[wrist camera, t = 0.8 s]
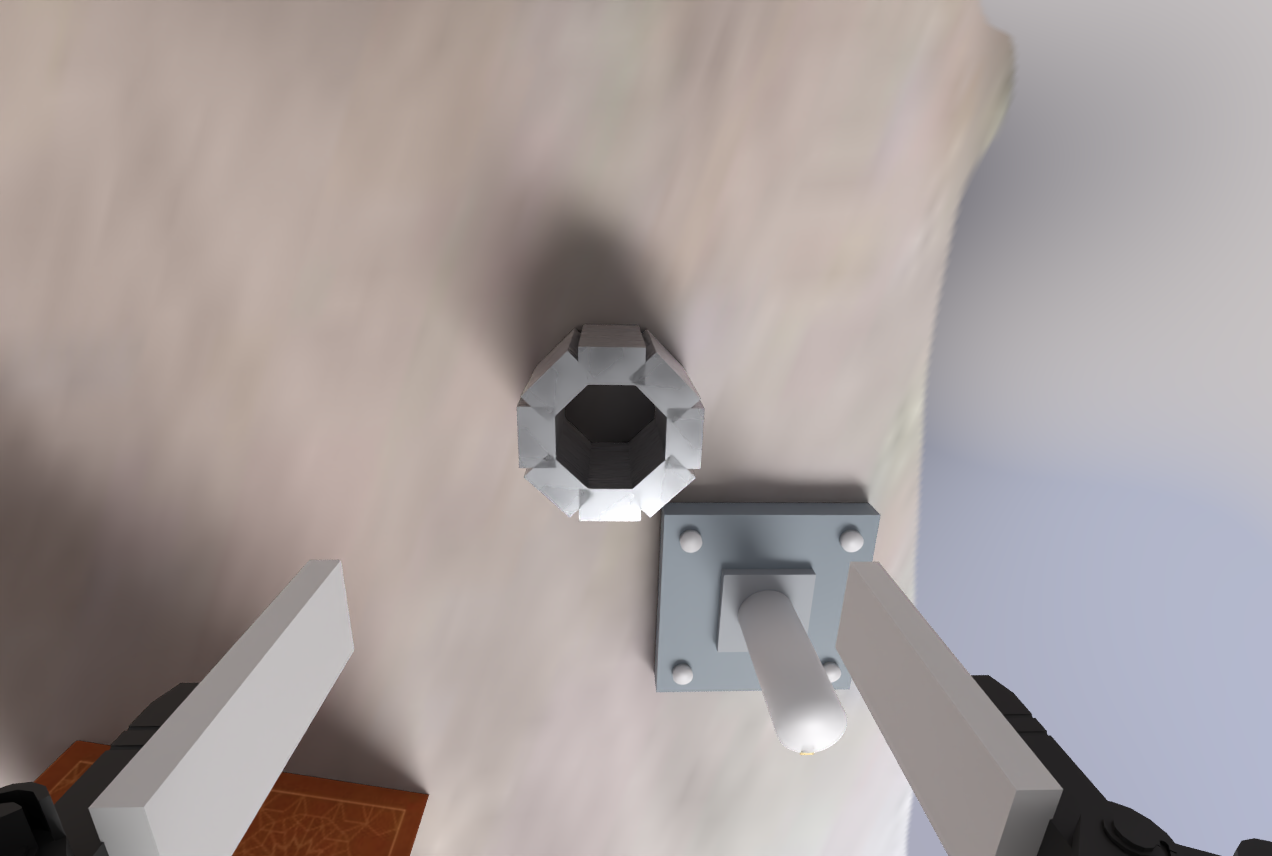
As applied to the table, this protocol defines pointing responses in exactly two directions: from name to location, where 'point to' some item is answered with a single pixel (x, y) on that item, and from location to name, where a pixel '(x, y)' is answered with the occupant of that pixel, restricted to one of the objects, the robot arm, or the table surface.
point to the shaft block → (761, 606)
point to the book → (296, 812)
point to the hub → (610, 472)
